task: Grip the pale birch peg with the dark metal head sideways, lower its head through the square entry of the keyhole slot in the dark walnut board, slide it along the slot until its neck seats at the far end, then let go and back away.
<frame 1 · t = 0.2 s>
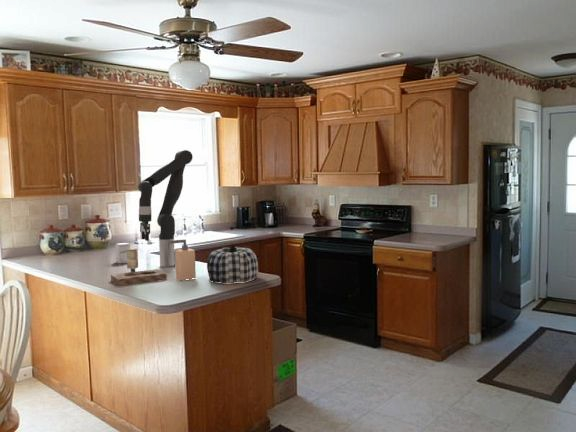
hand: (145, 239, 321), 18 cm above the countertop, tool pointing down, fingers open, 8 cm apart
soap dispenser: (182, 279, 289), on the countertop
supplement box: (123, 262, 345), on the countertop
decorative pumpkin: (233, 279, 286), on the countertop
walnut keyhole board: (138, 280, 287), on the countertop
birch peg: (133, 275, 300), on the countertop
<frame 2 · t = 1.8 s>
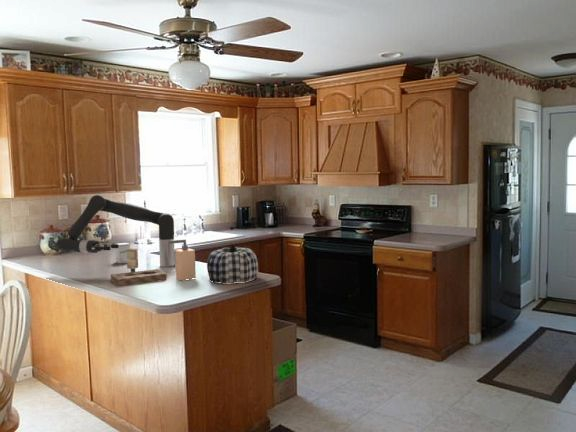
hand: (114, 247, 301), 16 cm above the countertop, tool horizontal, fingers open, 8 cm apart
nothing on the countertop moved.
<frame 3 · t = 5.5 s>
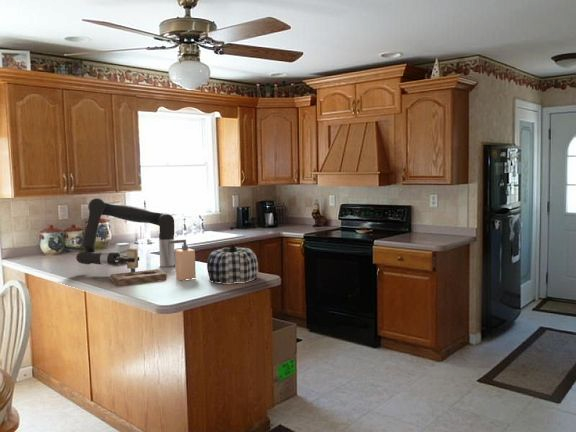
hand: (136, 259, 299), 10 cm above the countertop, tool horizontal, fingers closed on birch peg, 4 cm apart
birch peg: (133, 275, 300), on the countertop, touching gripper
everything else where it was.
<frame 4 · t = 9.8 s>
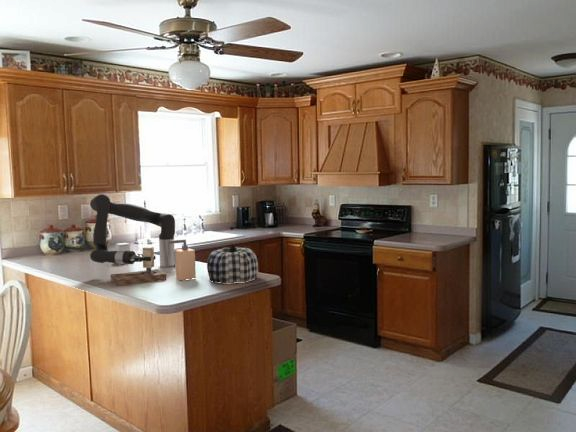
hand: (152, 258, 288), 12 cm above the countertop, tool horizontal, fingers closed on birch peg, 4 cm apart
birch peg: (148, 275, 290), point 2 cm above the countertop, touching gripper
everything else where it was.
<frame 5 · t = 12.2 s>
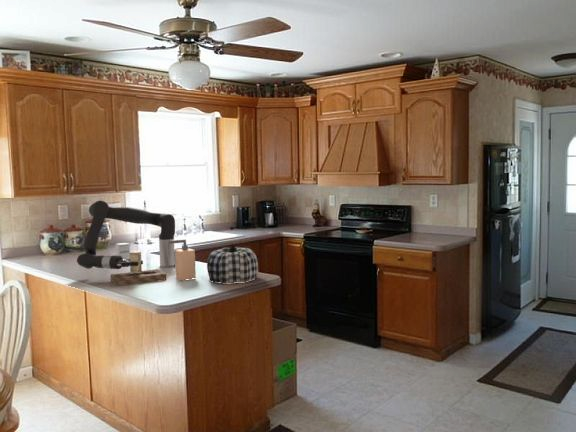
hand: (140, 263, 285), 10 cm above the countertop, tool horizontal, fingers closed on birch peg, 4 cm apart
birch peg: (136, 280, 286), resting in walnut keyhole board, touching gripper
everything else where it was.
when the fingers open (10 cm above the countertop, at t = 14.5 s): birch peg stays where it is, resting in walnut keyhole board.
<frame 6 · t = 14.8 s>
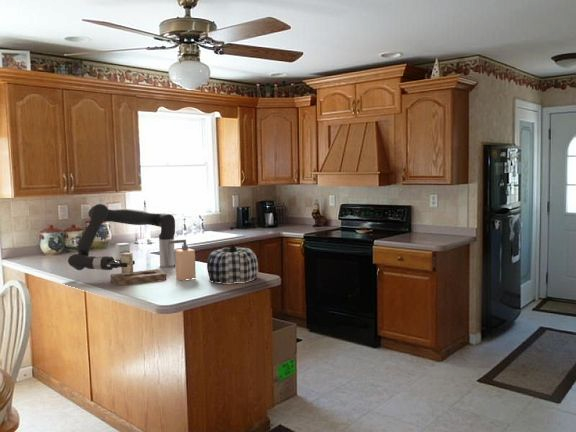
hand: (130, 263, 282), 10 cm above the countertop, tool horizontal, fingers open, 7 cm apart
birch peg: (127, 281, 284), resting in walnut keyhole board
everything else where it was.
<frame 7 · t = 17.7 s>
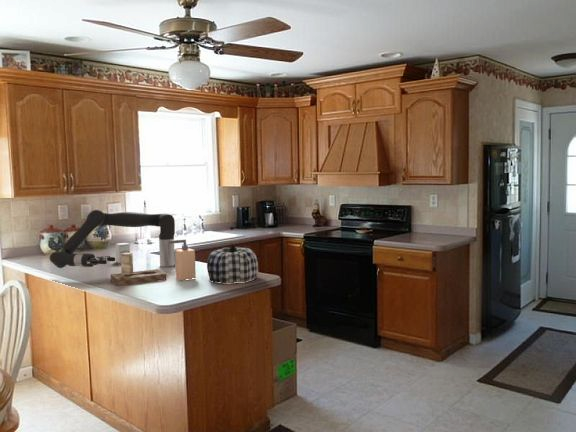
hand: (110, 260, 287), 11 cm above the countertop, tool horizontal, fingers open, 8 cm apart
nothing on the countertop moved.
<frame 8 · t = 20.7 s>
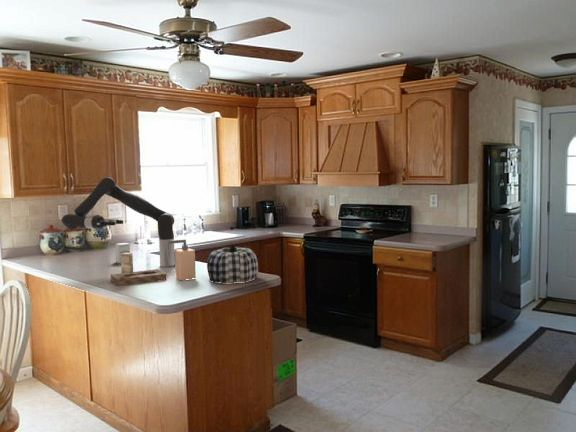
hand: (118, 222, 306), 30 cm above the countertop, tool horizontal, fingers open, 8 cm apart
nothing on the countertop moved.
at the end: birch peg 0.5 cm from the target spot on the walnut keyhole board, point 0.0 cm above the walnut keyhole board's base; birch peg tilted 0°; the gripper is holding nothing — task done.
